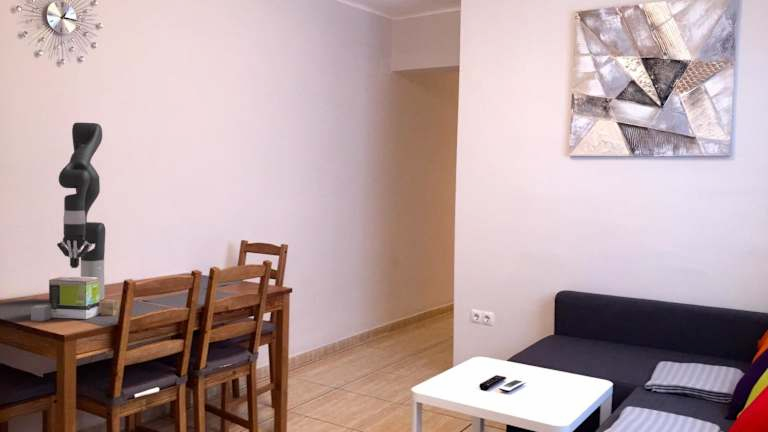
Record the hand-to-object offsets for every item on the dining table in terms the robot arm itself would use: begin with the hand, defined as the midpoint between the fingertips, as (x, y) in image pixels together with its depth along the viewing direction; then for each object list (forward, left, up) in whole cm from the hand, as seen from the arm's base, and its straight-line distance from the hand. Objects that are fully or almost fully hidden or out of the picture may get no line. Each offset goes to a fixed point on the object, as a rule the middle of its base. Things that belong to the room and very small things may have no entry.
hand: (74, 267), depth 249 cm
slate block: (+7, -9, -19) cm, 22 cm away
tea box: (0, 0, -19) cm, 19 cm away
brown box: (-6, +11, -19) cm, 23 cm away
